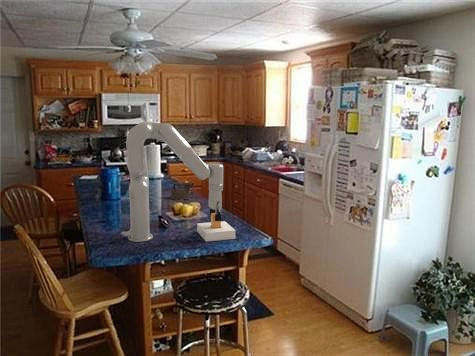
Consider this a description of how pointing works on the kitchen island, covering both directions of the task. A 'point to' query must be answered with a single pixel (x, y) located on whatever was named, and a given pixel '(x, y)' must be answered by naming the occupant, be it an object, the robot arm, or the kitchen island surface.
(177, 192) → the clothes iron
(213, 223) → the plug
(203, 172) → the robot arm
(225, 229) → the socket block
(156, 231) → the kitchen island surface
